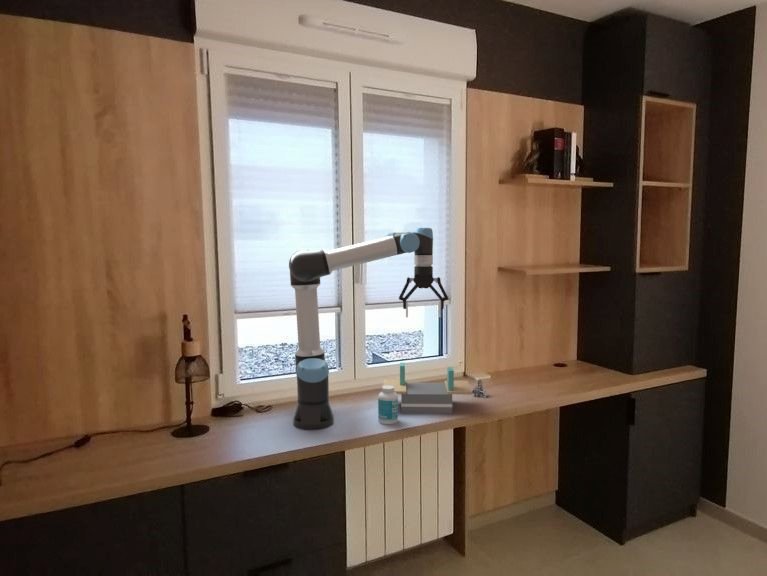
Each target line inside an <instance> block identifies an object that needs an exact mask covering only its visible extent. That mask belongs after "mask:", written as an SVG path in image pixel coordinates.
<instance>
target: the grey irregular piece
mask: <svg viewBox="0 0 767 576" xmlns="http://www.w3.org/2000/svg"><path fill="white" fill-rule="evenodd" d="M472 396H473V397H476V398H478V397H480V398H483V399H485V398H486V399H487V398H488V397H490V394H489V393H488V392H487V390H486V389H485V387H484V386H483V381H482V379H478V381H477V385H475V388H474V389H473V390H472Z"/></svg>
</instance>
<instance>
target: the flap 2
mask: <svg viewBox="0 0 767 576" xmlns="http://www.w3.org/2000/svg"><path fill="white" fill-rule="evenodd" d="M446 376H447V377H446V379H447V380H444V382H443V383H445V387H446V390H447V394H452V395H466V396H467V395H470V396H471V395H472V391H473V390H472V389H471V386H470V384H469V381H468V380H454V379H455V369H454V368H453V366H447V375H446ZM472 396H473V395H472Z"/></svg>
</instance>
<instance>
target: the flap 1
mask: <svg viewBox="0 0 767 576" xmlns="http://www.w3.org/2000/svg"><path fill="white" fill-rule="evenodd" d="M406 383H407V380H406V362H399V379H383V383H382V387H383V386H393V387H394V392H395V393H397V395H401V394H406Z"/></svg>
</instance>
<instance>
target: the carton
mask: <svg viewBox="0 0 767 576" xmlns="http://www.w3.org/2000/svg"><path fill="white" fill-rule="evenodd" d="M400 397H401V398H400V399H401V401H400V406H401V411H400V412H401V414H421V415H422V414H423V415H424V414H426V415H427V414H428V415H429V414H432V415H433V414H443V415H444V414H445V415H446V414H447V415H449V414H450V415H451V414H453V394H447V390H446V387H445V383H444V382H406V394H400Z"/></svg>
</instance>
